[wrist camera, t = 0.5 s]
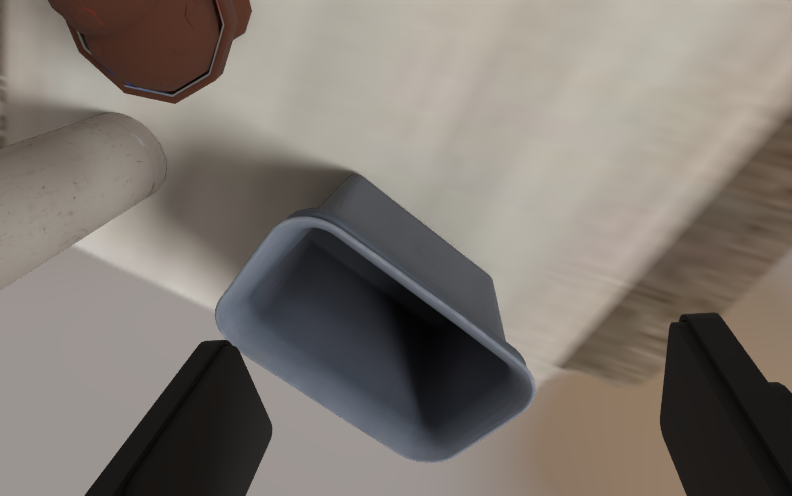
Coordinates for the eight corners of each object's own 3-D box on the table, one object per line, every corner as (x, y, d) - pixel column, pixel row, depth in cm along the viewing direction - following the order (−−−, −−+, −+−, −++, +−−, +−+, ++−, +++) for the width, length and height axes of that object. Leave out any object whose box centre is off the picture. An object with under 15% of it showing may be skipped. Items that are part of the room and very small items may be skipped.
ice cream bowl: (121, -31, 36) (-80, -41, 23) (233, -115, 32) (71, -185, 19) (203, 99, 40) (71, 153, 27) (312, 37, 36) (221, 64, 23)
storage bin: (535, 277, 44) (559, 392, 31) (428, 366, 51) (413, 489, 38) (352, 129, 39) (295, 195, 27) (263, 249, 47) (186, 344, 34)
